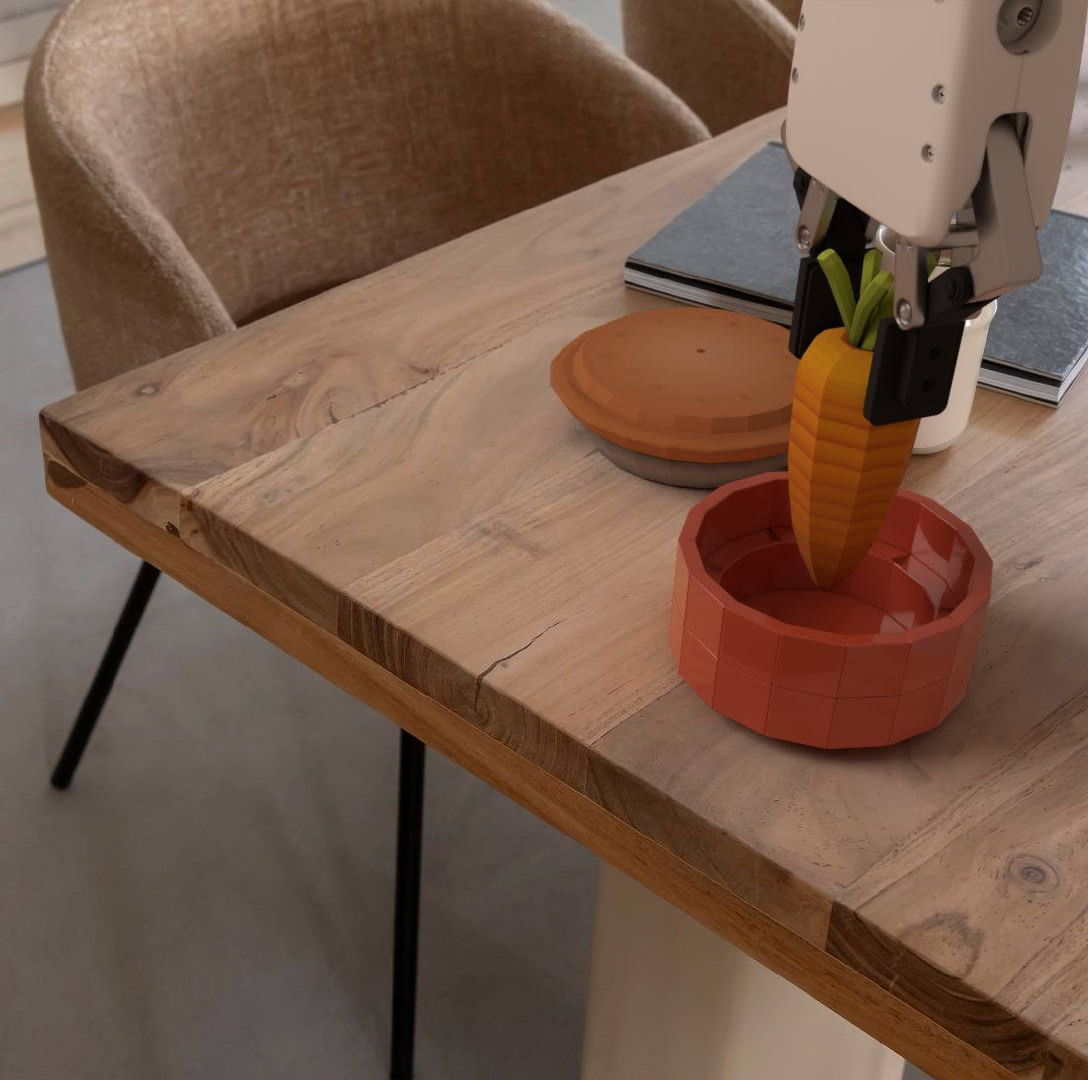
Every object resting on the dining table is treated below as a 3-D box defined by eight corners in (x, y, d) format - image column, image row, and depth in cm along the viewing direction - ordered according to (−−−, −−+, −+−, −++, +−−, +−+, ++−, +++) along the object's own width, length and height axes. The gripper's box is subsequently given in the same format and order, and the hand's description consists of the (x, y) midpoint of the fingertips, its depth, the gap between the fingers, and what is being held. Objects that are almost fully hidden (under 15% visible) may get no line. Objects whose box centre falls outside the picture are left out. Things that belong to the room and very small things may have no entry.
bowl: (766, 549, 69) (781, 440, 66) (1011, 655, 63) (1043, 541, 59) (612, 674, 61) (620, 558, 58) (873, 809, 55) (900, 689, 52)
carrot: (740, 586, 60) (786, 242, 51) (815, 541, 63) (871, 208, 54) (836, 642, 57) (903, 288, 48) (911, 593, 60) (987, 249, 51)
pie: (883, 416, 80) (899, 334, 77) (759, 547, 69) (772, 458, 66) (639, 343, 87) (645, 265, 84) (494, 452, 76) (494, 367, 73)
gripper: (1269, -113, 38) (1093, 479, 49) (911, -204, 51) (834, 280, 62) (1029, -95, 36) (901, 519, 47) (719, -195, 49) (675, 305, 59)
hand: (864, 378), depth 54 cm, fingers closed on carrot, 4 cm apart
